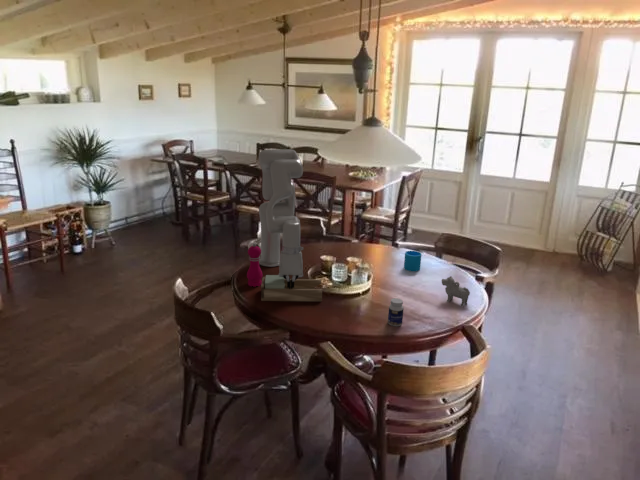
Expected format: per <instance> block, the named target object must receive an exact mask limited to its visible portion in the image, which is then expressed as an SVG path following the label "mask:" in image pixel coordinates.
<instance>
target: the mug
mask: <svg viewBox="0 0 640 480" xmlns="http://www.w3.org/2000/svg"><path fill="white" fill-rule="evenodd" d="M421 264H422V253H421V252H419V251H417V250H407V251H405V253H404V262H403V269H404V270H405V271H408V272H420V270H421Z"/></svg>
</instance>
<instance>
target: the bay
mask: <svg viewBox="0 0 640 480" xmlns="http://www.w3.org/2000/svg"><path fill="white" fill-rule="evenodd" d="M265 279H266V276H263V277H262V278H261V280H262V284H261V285H260V287H261V288H260V295H261V296H260V297H261V298H260V300H261V302H323V288H321V289H315V288H314V287H315V286H317V285H319V284H321V285H322V279H319V278H318V279H316V278H315V279H314V278H313V279H308V278H307V279H306V278H297V279H296V280H295V281H294V288H293V289H289V288H287V280H286V279H285V278H284V289H265ZM291 279H292V278H290V280H291Z"/></svg>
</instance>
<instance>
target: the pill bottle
mask: <svg viewBox="0 0 640 480" xmlns="http://www.w3.org/2000/svg"><path fill="white" fill-rule="evenodd" d="M403 304H404V301H403V299H401V298H397V297H395V298H391V299H390V305H389V306H388V315H387V316H388V317H387V324H388V325H390V326H391V327H400V326H402V324H403V319H404V318H403V317H404V305H403Z"/></svg>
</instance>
